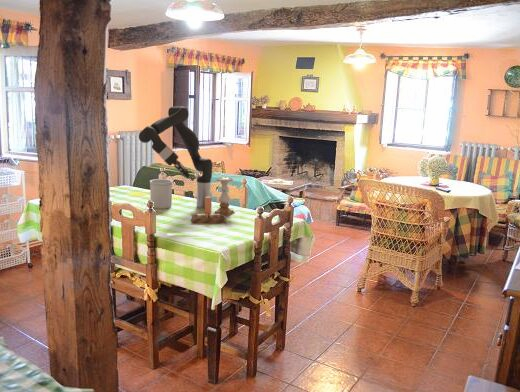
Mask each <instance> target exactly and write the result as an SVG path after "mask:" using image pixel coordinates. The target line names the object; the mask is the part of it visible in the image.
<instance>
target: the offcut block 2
mask: <svg viewBox="0 0 520 392" xmlns="http://www.w3.org/2000/svg"><path fill="white" fill-rule="evenodd" d="M209 218H220V214H214V213H211V214H209Z"/></svg>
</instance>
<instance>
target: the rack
mask: <svg viewBox="0 0 520 392" xmlns="http://www.w3.org/2000/svg"><path fill="white" fill-rule="evenodd" d="M197 214H198V213H197ZM197 214H191V218H190V221H191V225H196V224H197V225H200V224H201V225H203V224H205V225H206V224H209V225H210V224H211V225H212V224H215V225H216V224H227V222H226V217H225V216H224V214H220V218H209V216H208V218H197Z"/></svg>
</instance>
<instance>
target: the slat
mask: <svg viewBox="0 0 520 392" xmlns="http://www.w3.org/2000/svg"><path fill="white" fill-rule="evenodd" d="M204 214H208V216H209V214H212V197H205V208H204Z"/></svg>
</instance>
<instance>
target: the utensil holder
mask: <svg viewBox="0 0 520 392" xmlns="http://www.w3.org/2000/svg"><path fill="white" fill-rule="evenodd" d="M149 187H150V188H149V190H150V192H149V194H150V201H151V200H152V201H153V202H154V208H153V209H160V210H162V209H169V208H171V207H172V204H173V203H172V200H173V199H172V198H173V180H171V179H167V178H155V179H151V180H149Z"/></svg>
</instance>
